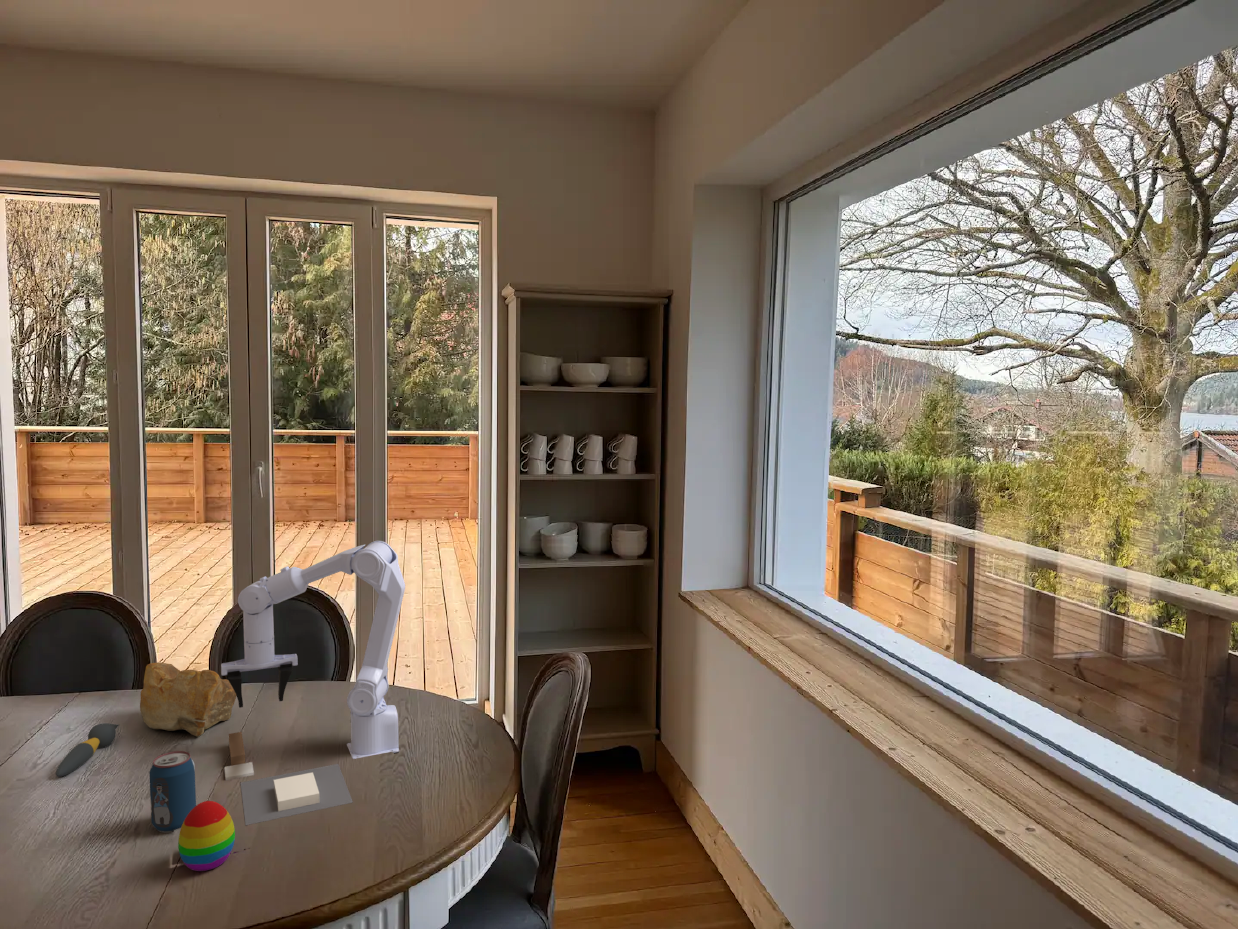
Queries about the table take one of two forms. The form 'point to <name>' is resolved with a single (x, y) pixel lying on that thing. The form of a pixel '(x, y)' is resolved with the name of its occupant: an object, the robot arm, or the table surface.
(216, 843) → the decorative egg
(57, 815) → the table surface
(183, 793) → the soda can
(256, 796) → the mat
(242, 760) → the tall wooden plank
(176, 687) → the rough brown rock
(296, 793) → the tile
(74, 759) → the paintbrush
